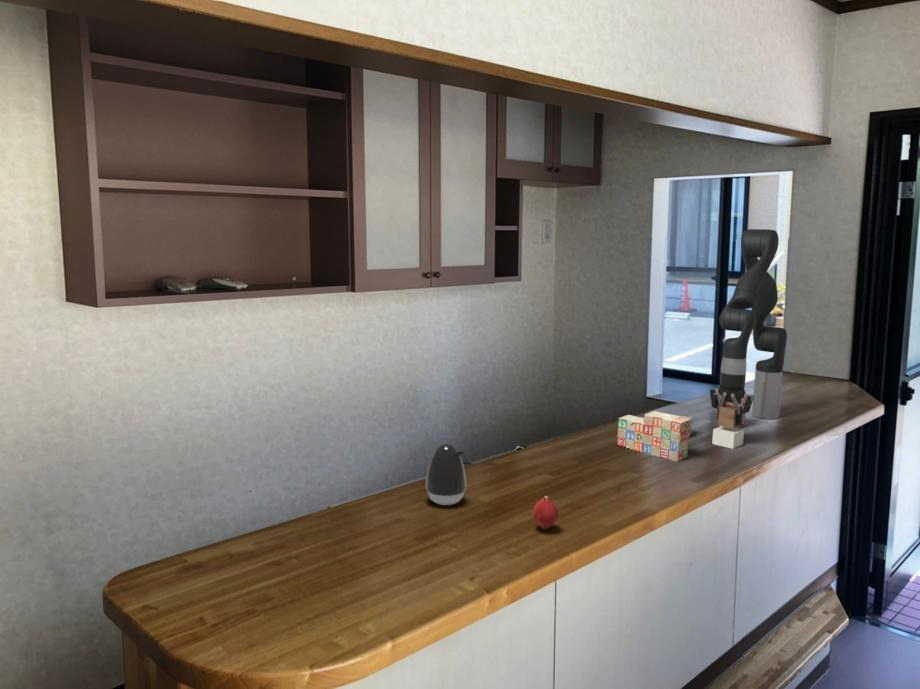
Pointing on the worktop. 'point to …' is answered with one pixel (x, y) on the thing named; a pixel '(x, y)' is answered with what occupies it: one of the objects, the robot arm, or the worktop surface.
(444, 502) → the pump dispenser
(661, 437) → the stack of blocks
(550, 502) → the red christmas ornament
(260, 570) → the worktop surface
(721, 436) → the base block
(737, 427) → the soda can
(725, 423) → the walnut block
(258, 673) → the worktop surface
